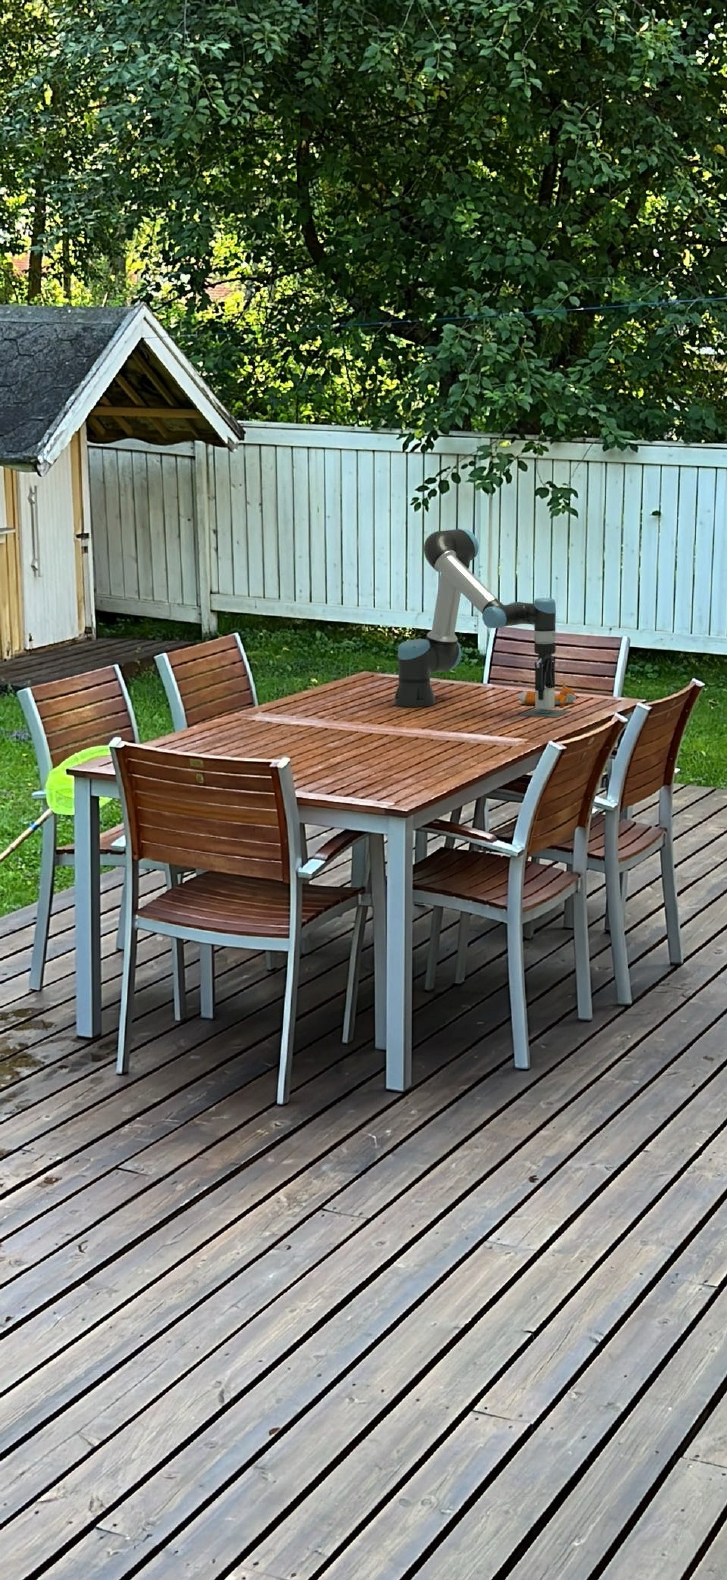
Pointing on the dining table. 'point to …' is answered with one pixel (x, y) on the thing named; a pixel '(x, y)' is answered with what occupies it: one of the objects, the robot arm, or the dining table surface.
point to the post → (544, 711)
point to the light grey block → (547, 698)
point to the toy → (561, 699)
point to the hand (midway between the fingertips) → (545, 707)
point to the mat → (552, 713)
